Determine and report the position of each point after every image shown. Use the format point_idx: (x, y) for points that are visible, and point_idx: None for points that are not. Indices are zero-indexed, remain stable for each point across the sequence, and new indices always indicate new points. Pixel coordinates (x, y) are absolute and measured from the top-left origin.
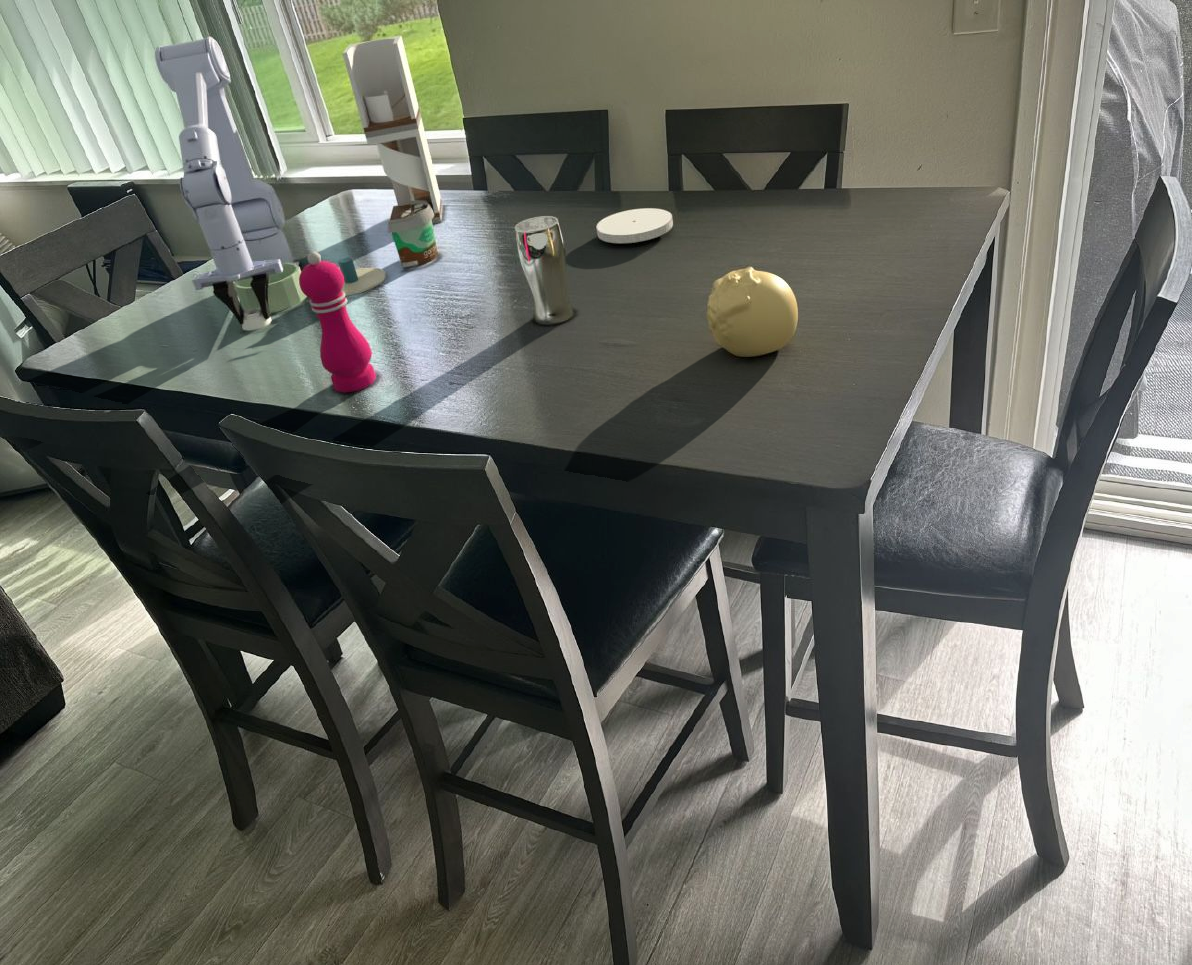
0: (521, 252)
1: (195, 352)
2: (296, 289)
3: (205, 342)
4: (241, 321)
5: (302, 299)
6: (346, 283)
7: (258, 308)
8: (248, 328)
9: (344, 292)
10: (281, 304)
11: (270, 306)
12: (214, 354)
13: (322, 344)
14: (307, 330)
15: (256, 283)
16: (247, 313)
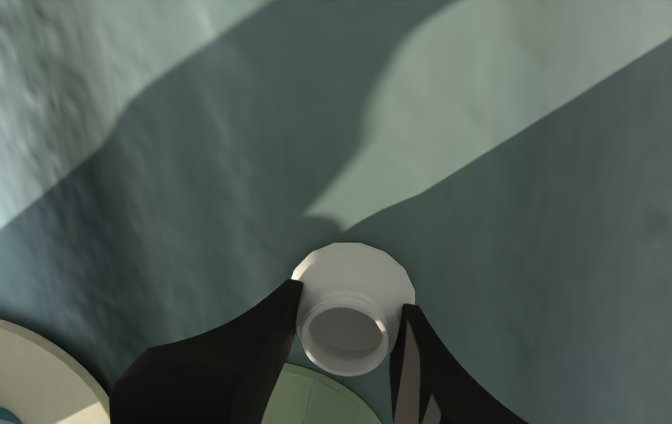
0: None
1: (660, 206)
2: None
3: (589, 291)
4: (409, 307)
5: None
6: (14, 414)
7: (314, 355)
8: (388, 261)
9: (2, 340)
10: None
11: (278, 392)
12: (581, 109)
13: None
14: (132, 96)
15: (180, 377)
16: (373, 355)
